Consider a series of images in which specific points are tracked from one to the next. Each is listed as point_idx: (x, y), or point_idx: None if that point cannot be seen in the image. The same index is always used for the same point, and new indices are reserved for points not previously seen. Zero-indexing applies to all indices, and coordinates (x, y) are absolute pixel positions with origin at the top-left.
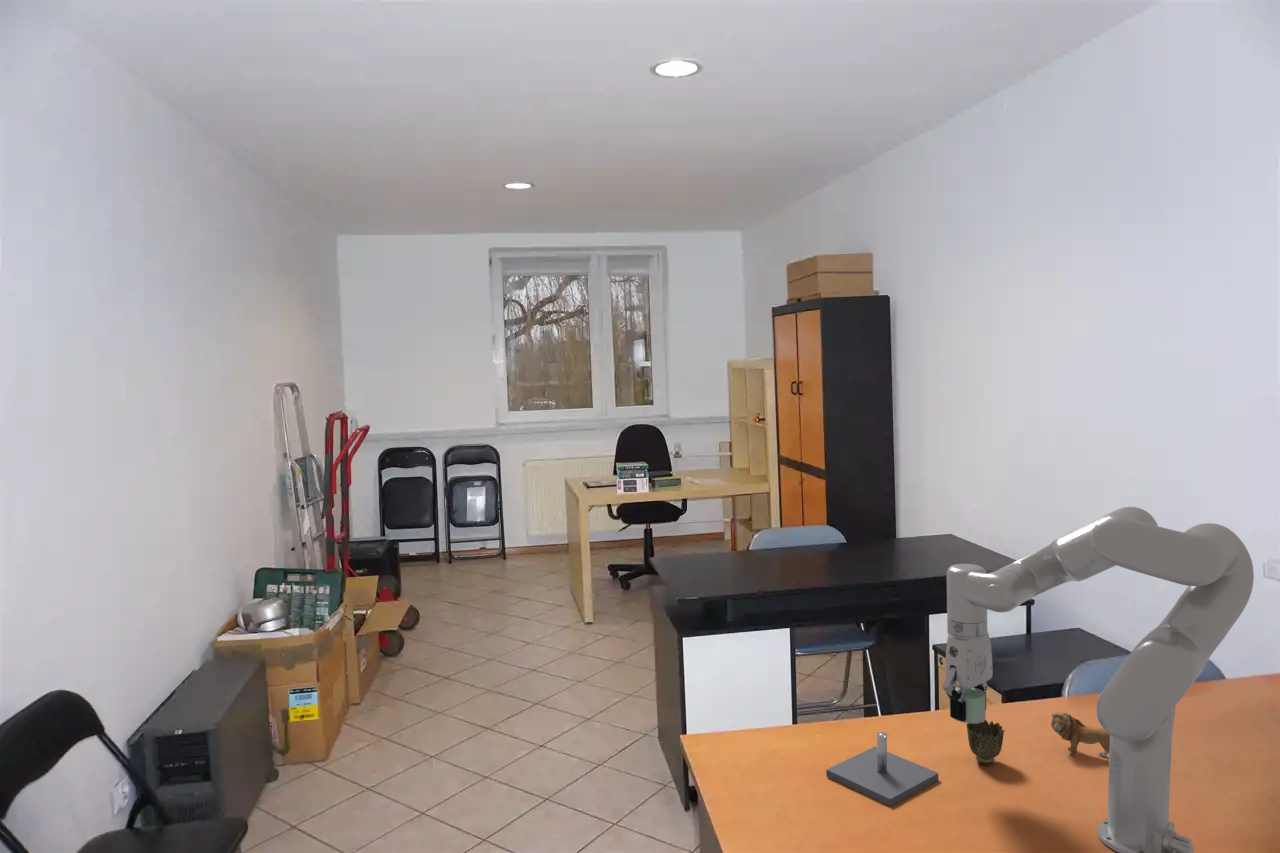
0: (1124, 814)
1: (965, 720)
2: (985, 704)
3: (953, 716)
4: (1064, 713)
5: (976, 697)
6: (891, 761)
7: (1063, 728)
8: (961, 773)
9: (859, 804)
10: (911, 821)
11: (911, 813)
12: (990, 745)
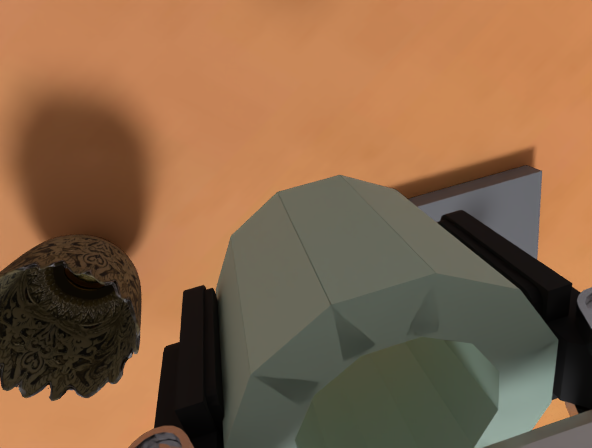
0: None
1: (445, 214)
2: (191, 317)
3: None
4: None
5: (447, 303)
6: None
7: None
8: (221, 230)
9: (568, 205)
10: (548, 75)
11: (514, 110)
12: (93, 252)
